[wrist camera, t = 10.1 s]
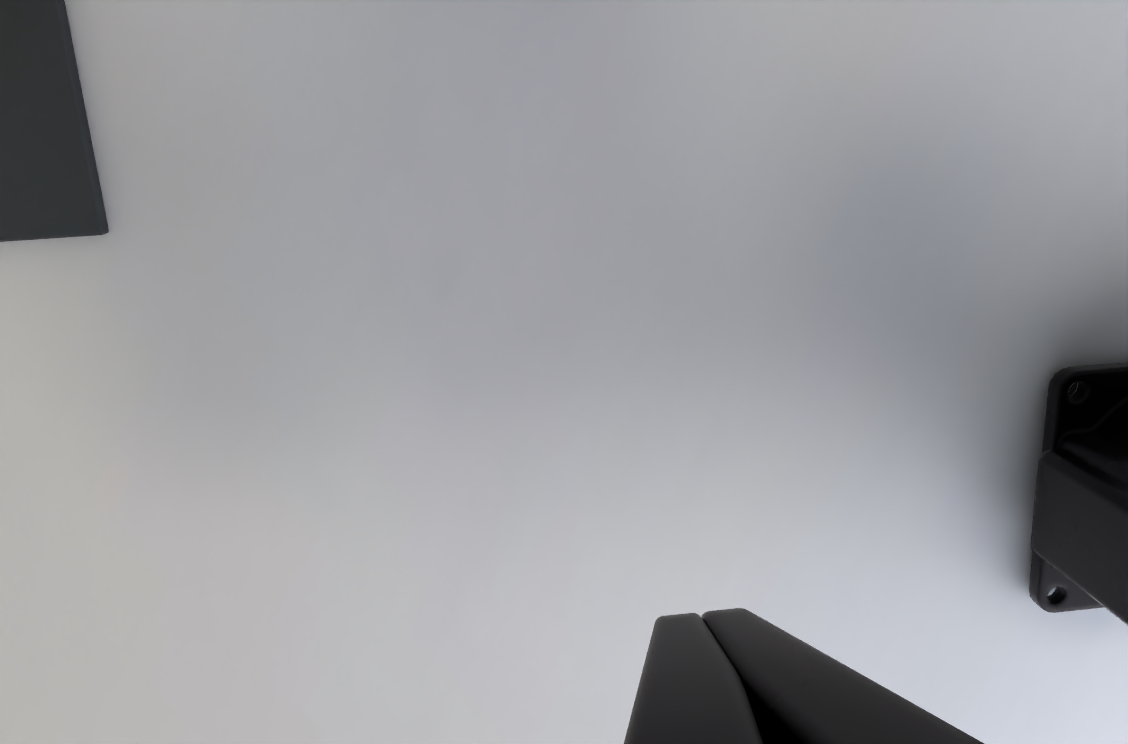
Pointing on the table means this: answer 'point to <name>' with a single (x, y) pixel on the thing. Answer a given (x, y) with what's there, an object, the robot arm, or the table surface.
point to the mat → (44, 129)
